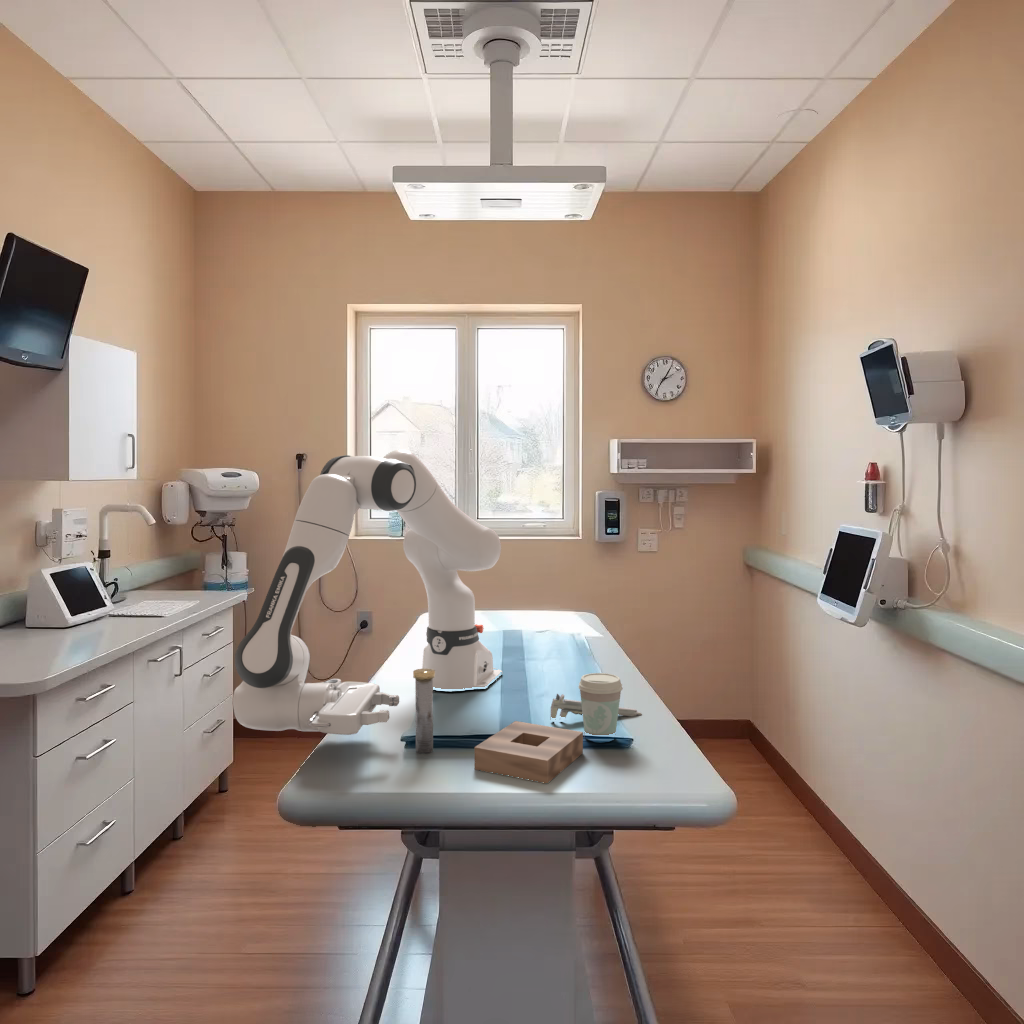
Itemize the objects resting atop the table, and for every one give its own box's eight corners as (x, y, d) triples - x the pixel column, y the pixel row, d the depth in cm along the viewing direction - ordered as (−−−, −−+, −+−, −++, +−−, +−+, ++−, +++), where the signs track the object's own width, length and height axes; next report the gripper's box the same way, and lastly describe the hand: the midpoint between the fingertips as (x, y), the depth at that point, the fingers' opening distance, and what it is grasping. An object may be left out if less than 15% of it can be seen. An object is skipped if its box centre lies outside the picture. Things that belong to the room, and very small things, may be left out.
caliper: (552, 725, 168) (552, 695, 168) (550, 723, 169) (550, 693, 169) (642, 716, 174) (642, 687, 174) (640, 714, 175) (640, 685, 175)
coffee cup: (569, 738, 159) (569, 677, 159) (596, 728, 165) (597, 669, 165) (603, 749, 153) (604, 686, 153) (630, 738, 159) (631, 677, 159)
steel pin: (421, 745, 156) (420, 667, 155) (439, 748, 154) (438, 670, 153) (409, 751, 152) (409, 672, 151) (427, 755, 150) (427, 675, 149)
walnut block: (515, 741, 158) (515, 721, 157) (582, 753, 151) (582, 732, 151) (474, 769, 143) (474, 747, 143) (547, 783, 137) (547, 760, 137)
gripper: (303, 707, 143) (381, 709, 142) (334, 676, 163) (403, 677, 163) (304, 743, 143) (382, 744, 143) (335, 707, 164) (403, 708, 163)
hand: (393, 708), depth 153 cm, fingers open, 8 cm apart
